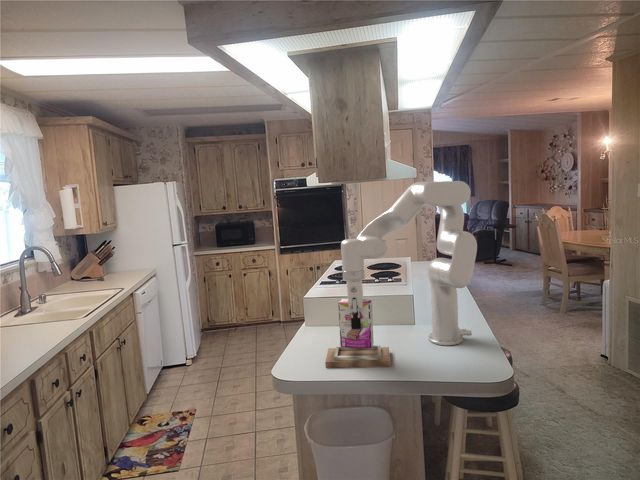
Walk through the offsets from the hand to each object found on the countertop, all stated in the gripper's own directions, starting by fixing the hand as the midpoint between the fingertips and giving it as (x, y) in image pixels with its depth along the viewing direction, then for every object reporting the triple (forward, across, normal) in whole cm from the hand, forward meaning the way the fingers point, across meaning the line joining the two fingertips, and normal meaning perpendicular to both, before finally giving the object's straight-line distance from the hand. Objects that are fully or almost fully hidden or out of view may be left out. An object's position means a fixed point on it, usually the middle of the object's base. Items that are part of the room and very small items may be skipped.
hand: (356, 325), depth 150 cm
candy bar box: (+8, 0, 0) cm, 8 cm away
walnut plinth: (+13, 0, 0) cm, 13 cm away
